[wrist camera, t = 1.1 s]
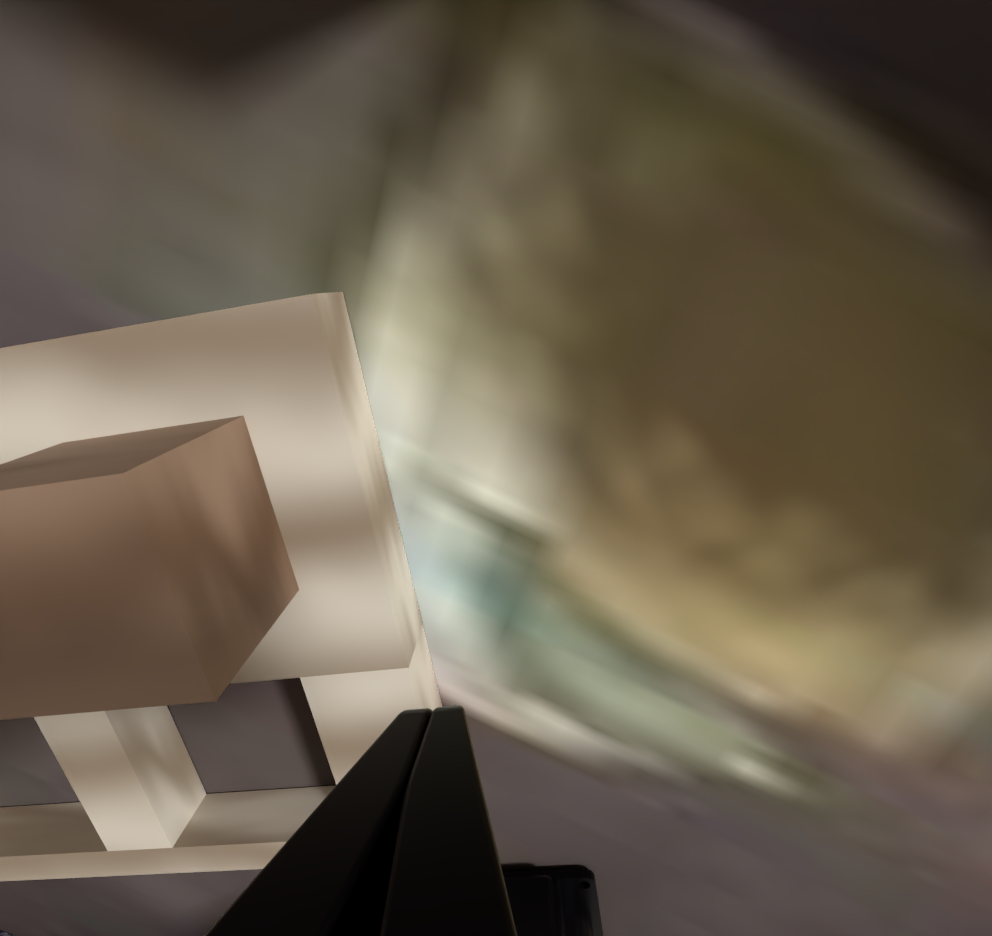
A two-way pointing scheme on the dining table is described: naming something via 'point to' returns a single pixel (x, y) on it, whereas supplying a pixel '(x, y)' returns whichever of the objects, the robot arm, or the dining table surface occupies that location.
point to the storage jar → (4, 934)
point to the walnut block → (135, 569)
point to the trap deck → (299, 629)
